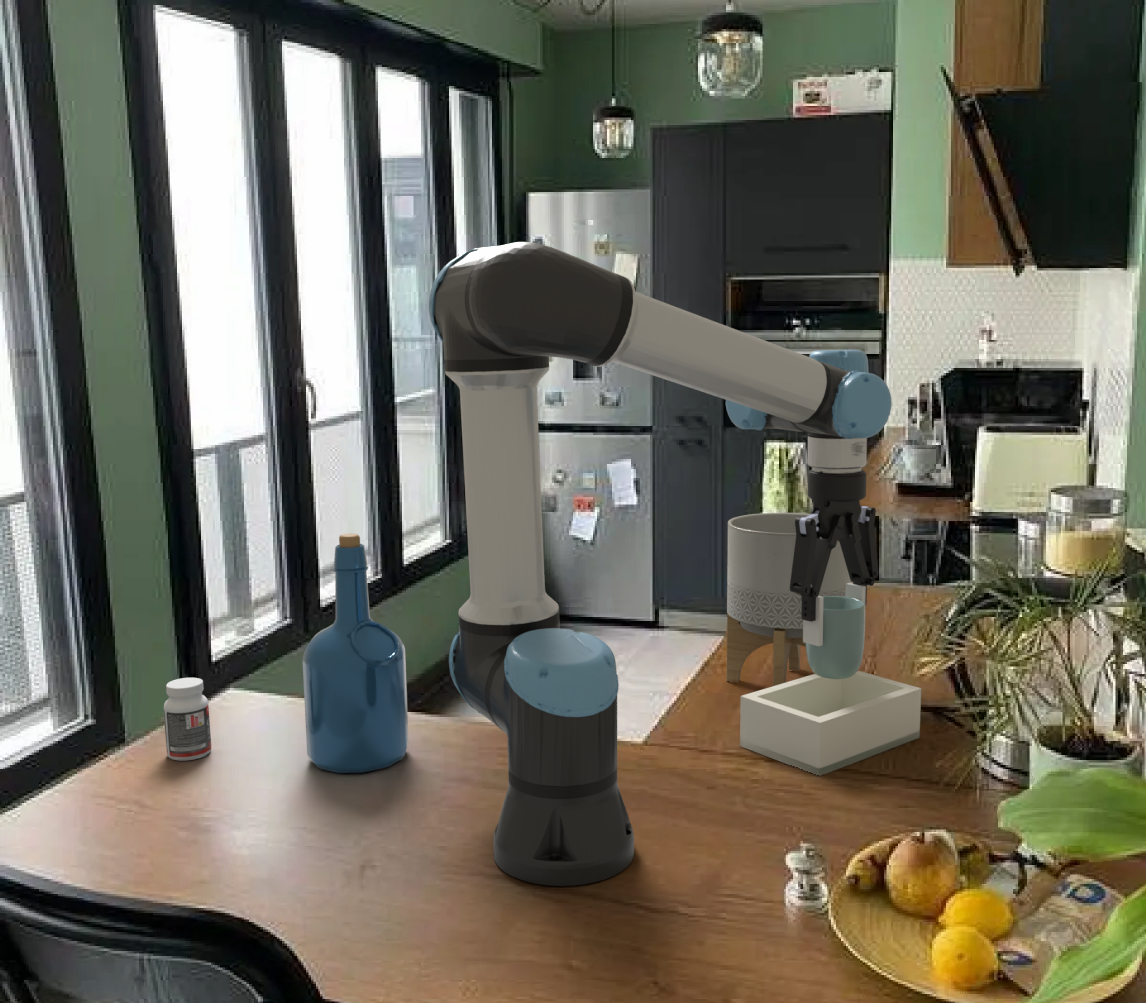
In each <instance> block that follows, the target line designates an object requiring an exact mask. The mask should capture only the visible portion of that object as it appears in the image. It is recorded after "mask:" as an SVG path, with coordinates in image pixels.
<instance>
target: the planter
mask: <svg viewBox="0 0 1146 1003" xmlns="http://www.w3.org/2000/svg"><path fill="white" fill-rule="evenodd" d="M809 515H811V513H805V512H804V513H803V512H764V513H752V514H751V513H750V514H745V515H740V516H735V517H732V518H730V519H729V520H728V521H727V567H726V568H727V571H726V572H727V574H726V576H727V577H726V578H727V580H726V582H727V583H726V584H727V585H726V586H727V587H726V600H727V601H726V613H727V614H726V616H727V619H726V682H727V681H729V682H728V683H734V682H738V683H739V682H740V680H741V672H742V668H743V666H744V664H745V662H746V660H747V659H748V658H749V656H751V654H752V653H754V652H755V651H757V650H758V649H760V648H762V647H764V646H767V645H769V644H773V645H772V646H773V647H772V648H773V649H772V650H773V651H772V652H773V654H772V656H773V657H772V687H773V686H776V685H779V684H783V683H786V682H787V673H788V671H789V670H792V671H799V672H800V670H801V646H802V647H804V648H806V645H805V643H804V642H803V620H802V617H801V612H802V611H801V609H802V597H801V595H800V594H796V593H794V592H791V591H790V580H791V573H792V565H793V557H794V549H795V541H796V528H795V519H796V518H797V517H807V516H809ZM820 539H822V538H821V537H820ZM847 583H852V582H851V580H850V577H849V573H848V570H847V566H846V563H845V559H844V556H843V552H842V549H841V546H840V542H839V541H837V544H836V547H835V548H833V549H832V550H831V554H830V557H829V561H828V564H827V568H826V571H825V575H824V578H823V582H822V585H821V589H820V592H819V595H818V596H843V597H846V584H847ZM811 587H812V585H811ZM799 669H800V670H799ZM730 681H731V682H730Z"/></svg>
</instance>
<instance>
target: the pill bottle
mask: <svg viewBox="0 0 1146 1003" xmlns="http://www.w3.org/2000/svg"><path fill="white" fill-rule="evenodd" d="M204 687H205V686H204V680H203V679H201V678H199V677H198V678H197V677H183V678H181V677H180V678H177V679H174V680H171V681H169V682H167V684H166V686H165V688H166V689H165V692H166V695H167V696H168V699H167V700H166V701H165V702H164V704H163V718H164V719H163V720H164V731H165V732H164V733H165V734H164V735H165V746H166V747H165V748H166V755H167V757H168V758H169V759H171V760H174V761H179V762H180V761H181V762H184V761H185V762H186V761H194V760H198V759H201V758H205V757H206V756H208V755H209V754H210V753H211V751H212V738H211V737H212V736H211V735H212V734H211V723H210V722H211V721H210V720H211V719H210V708H209V701H208V698H207V697H206V696H205V695H204V694H203V691H204V689H205V688H204Z"/></svg>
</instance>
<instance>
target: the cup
mask: <svg viewBox="0 0 1146 1003" xmlns="http://www.w3.org/2000/svg"><path fill="white" fill-rule="evenodd" d="M822 597H823V645H822V646H815V645H812V644H808V643H805V645H806V647H805V652H806V658H807V663H808V665H809V668H810V670H812V672H813V674H817V675H818V676H820V677H823V678H828V679H845V678H849V677H851V676H853V675H854V674H855V673H856V672H857V671H859V669H860V668H861V665H862V661H863V655H864V647H865V634H866V631H865V630H866V607H865V604H864V602H863V601H861V600H859V599H856V598H851V597H843V596H822Z"/></svg>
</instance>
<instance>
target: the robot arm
mask: <svg viewBox="0 0 1146 1003" xmlns="http://www.w3.org/2000/svg"><path fill="white" fill-rule="evenodd" d="M436 275H437V276H436V277H435V279H434V281H433V283H432V286H431V289H430V292H429V297H428V314H429V319H430V323H431V325H432V327H433V329H434V331H435V333H436V334H437V337H438V338H439V339H440V340H441V341H442V343H443V355H444V356H443V358H444V359H443V360H444V372H445V373H444V374H445V376H447V377H448V378H449V379H451V381H452V382H454V383H455V385H456V386H457V387H458V389H459V396H460V397H459V399H460V415H461V416H460V419H461V436H462V437H461V438H462V454H463V456H462V457H463V474H464V476H463V477H464V492H465V493H464V494H465V511H466V512H465V513H466V528H467V532H466V533H467V548H468V549H467V550H468V566H469V567H468V568H469V584H470V588H469V589H470V591H469V592H470V595H469V598H468V599H467V600H466V601H465V602H464V603H463V604H462V605H461V607H459V609H458V632H457V633H456V634H455V635H454V637H453V639H452V642H451V645H450V649H449V653H448V654H449V656H448V664H449V665H448V666H449V667H448V668H449V673H450V676H451V679H452V680H451V681H452V682H453V684H454V686H455V688H456V689H457V691H458V692H459V694H460V696H461V697H462V698H463V700H464V701H465V702H466V703H467V704H468V705H469V706H470V707H471V708H472V709H473V710H475V711H477V713H479V714H481V715H482V716H484V717H485V718H487V719H488V720H489V721H490V722H491V723H492V724H494V725H495V726H496V727H498V729H500V730H501V731H503V733H505V734H506V736H507V737H506V738H507V768H508V769H507V770H508V771H507V772H508V773H507V774H508V783H507V784H508V786H507V789H506V793H505V796H504V800H503V804H502V807H501V811H500V815H499V818H498V822H497V825H496V826H495V830H494V832H493V838H492V839H493V840H492V841H493V842H492V844H493V845H492V846H493V860H494V861H495V864H496V865H497V866H498V867H499V868H500V870H502V871H503V872H504V873H506V874H507V875H509V876H511V877H513V878H516V879H518V880H521V881H523V882H527V883H530V884H531V883H532V884H535V885H543V886H552V887H553V886H554V887H559V886H560V887H567V886H568V887H569V886H580V885H581V886H582V885H587V884H592V883H593V884H594V883H597V882H601V881H604V880H607V879H609V878H612V877H614V876H616V875H617V874H619V873H621V872H623V871H624V870H625V869H626V868H628V867H629V865H630V864H631V863H632V861H633V859H634V856H635V834H634V829H633V826H632V824H631V821H630V817H629V814H628V812H627V809H626V805H625V803H624V799H623V797H622V793H621V791H620V788H619V785H618V694H619V686H620V684H619V676H618V674H617V663H616V662H617V661H616V658H615V657H616V656H615V655H614V653H613V652H614V651H613V650H612V649H611V647H610V646H609V645H608V644H607V643H606V642H605V641H604V640H602V639H601V638H599V637H597V636H595V635H593V634H590V633H587V632H585V631H580V632H577V631H576V632H575V631H574V630H573V629H569V628H561V625H560V624H561V623H560V606H559V604H558V602H556V601H555V600H554V599H553V598H552V597H550V596H549V594H547V592H546V586H545V582H546V581H545V560H544V559H545V557H544V537H543V536H544V533H543V515H542V514H543V513H542V512H543V510H542V509H543V508H542V507H543V506H542V489H541V488H542V487H541V486H542V485H541V463H540V442H539V441H540V440H539V439H540V438H539V437H540V436H539V416H538V415H539V414H538V410H539V409H538V390H537V389H538V387H537V386H538V385H539V384H538V383H539V382H540V381H541V380H542V378H544V376H545V375H546V374H547V373H549V371H550V358H560V359H567V360H573V361H576V362H581V363H583V364H584V363H585V364H588V365H590V366H593V367H596V368H600V367H603V366H606V365H608V364H610V363H611V362H612V363H614V364H618V365H620V366H624V367H626V368H630V369H633V370H637V371H639V372H642V373H644V374H648V375H651V376H654V377H657V378H661V379H663V380H667V381H669V382H671V383H675V384H677V385H681V386H684V387H687V388H691V389H693V390H696V391H699V392H703V393H706V394H708V395H711V396H713V397H718V398H720V399H723V400H725V407H726V412H727V415H728V417H729V419H730V421H731V423H733V425H735V427H737V428H739V429H741V430H756V431H762V430H766V429H767V430H768V429H769V430H770V429H771V430H773V429H774V430H777V429H778V430H783V431H784V430H785V431H793V432H801V433H807V460H806V462H807V464H806V465H808V466H809V467H811V469H810V470H809V471H808V472H807V489H806V491H807V496H808V498H809V499H811V501H812V508H811V510H810V514H811V515H809V516H807V517H797V518H796V519H795V528H796V541H795V549H794V557H793V565H792V573H791V580H790V591H791V592H794V593H796V594H800V595H801V597H802V609H801V611H802V612H801V617H802V620H803V642H804V643H808V644H812V645H815V646H822V645H823V597H822V596H818V595H819V592H820V589H821V585H822V582H823V578H824V575H825V571H826V568H827V564H828V561H829V557H830V554H831V550H832V549H833V548H835V547H836V544H837V541H839V542H840V546H841V549H842V552H843V556H844V559H845V563H846V566H847V570H848V573H849V577H850V580H851V583H847V584H846V597H851V598H856V599H859V600H861V601H863V602H864V604H865V608H866V606H867V599H868V598H867V595H868V586H870V587H872V586H874V584H875V582H876V580H875V579H877V578H878V576H879V562H878V553H877V543H876V542H877V540H876V531H875V530H876V529H875V521H876V513H877V510H876V507H872V506H865V505H864V506H863V505H861V503H860V501H862V500H864V499H865V498H866V497H867V472H866V471H865V470H864V469H863V468H864V467H866V466H867V448H868V447H867V446H868V445H867V443H868V442H867V440H868V438H871V437H874V436H876V435H877V434H878V433H880V432H881V430H882V429H884V427H885V426H886V424H887V423H888V420H889V418H890V415H891V410H892V404H893V403H892V395H891V391H890V388H889V387H888V385H887V383H886V382H885V381H884V379H882V378H881V377H880V376H878V375H876V374H875V373H872V372H870V371H869V359H868V356H867V354H866V352H864V351H863V350H859V349H824V350H823V349H820V350H818V349H817V350H813V351H811V352H810V354H809V356H807V355H806V354H805V355H804V354H801V353H799V352H797V351H793V350H791V349H789V348H786V347H783V346H781V345H778V344H775V343H773V342H770V341H767V340H765V339H762V338H759V337H757V336H755V335H752V334H749V333H746V332H743V331H740V330H738V329H735V328H733V327H730V326H727V325H725V324H722V323H720V322H716V321H714V320H712V319H709V318H706V317H703V316H701V315H699V314H696V313H693V312H691V311H687V310H684V309H683V308H680V307H676V306H674V305H671V304H669V303H666V302H664V301H661V300H659V299H657V298H656V299H655V298H653V297H650V296H647V295H645V294H642V293H640V292H637V291H636V289H635V285H634V284H633V282H632V281H631V280H630V278H628V277H626V276H623V275H621V274H618V273H616V272H612V271H610V270H608V269H605V268H603V267H601V266H598V265H596V264H594V263H592V262H589V261H587V260H585V259H582V258H580V257H577V256H574V255H572V254H569V253H567V252H565V251H562V250H559V249H557V248H554V247H553V246H552V247H551V246H549V245H545V244H541V243H536V242H530V241H517V242H511V243H506V244H502V245H500V244H499V245H494V246H485V247H478V248H477V247H476V248H473V249H471V250H469V251H465V252H464V253H462V254H460V255H458V256H457V257H455V258H453V259H452V260H450V261H449V262H448V263H446V265H444V266H443V268H442V269H441V270H440V271H439V273H438V274H436ZM820 537H821V538H822V539H820ZM811 585H812V587H811Z"/></svg>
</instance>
